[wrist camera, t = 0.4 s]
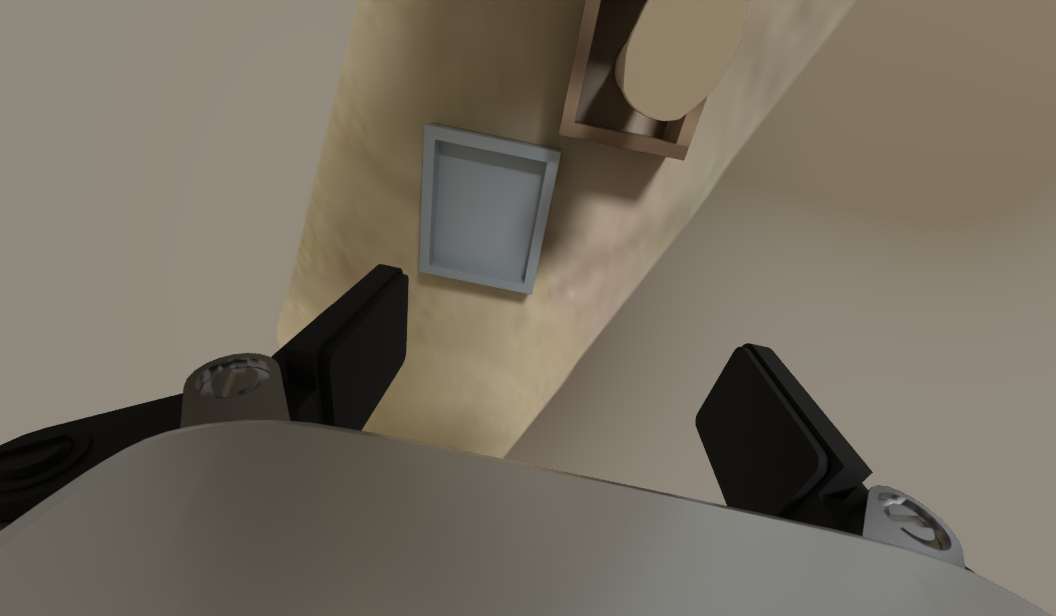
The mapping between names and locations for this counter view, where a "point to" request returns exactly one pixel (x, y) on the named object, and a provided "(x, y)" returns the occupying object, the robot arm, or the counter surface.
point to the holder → (669, 146)
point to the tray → (484, 206)
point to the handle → (678, 54)
